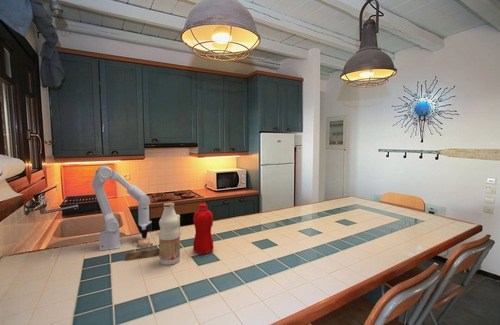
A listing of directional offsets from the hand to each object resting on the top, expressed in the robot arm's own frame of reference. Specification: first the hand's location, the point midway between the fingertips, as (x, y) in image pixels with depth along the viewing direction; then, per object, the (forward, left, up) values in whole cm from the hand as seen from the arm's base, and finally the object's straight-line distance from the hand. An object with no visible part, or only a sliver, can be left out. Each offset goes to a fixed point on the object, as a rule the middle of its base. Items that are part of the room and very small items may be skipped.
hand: (144, 237), depth 147 cm
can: (+16, +4, -2) cm, 17 cm away
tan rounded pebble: (0, -8, -2) cm, 8 cm away
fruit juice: (+12, -32, -2) cm, 34 cm away
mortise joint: (0, -20, -1) cm, 20 cm away
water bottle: (+30, -26, -2) cm, 40 cm away
